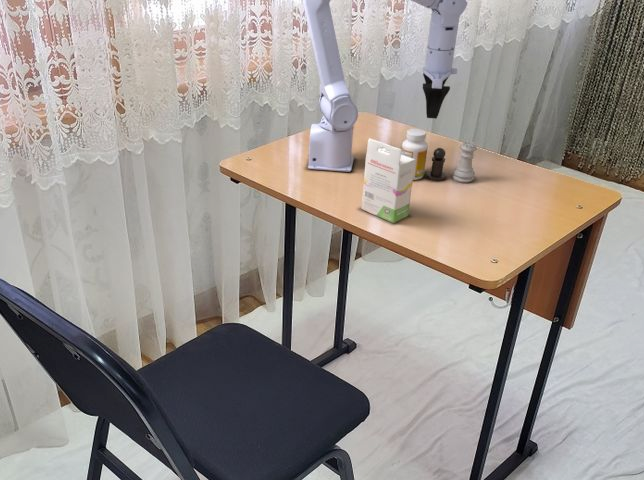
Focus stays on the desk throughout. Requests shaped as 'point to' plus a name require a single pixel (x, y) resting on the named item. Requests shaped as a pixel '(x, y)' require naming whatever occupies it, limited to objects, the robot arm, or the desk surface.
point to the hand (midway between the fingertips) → (431, 111)
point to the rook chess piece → (465, 164)
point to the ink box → (387, 181)
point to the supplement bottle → (416, 150)
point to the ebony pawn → (437, 166)
